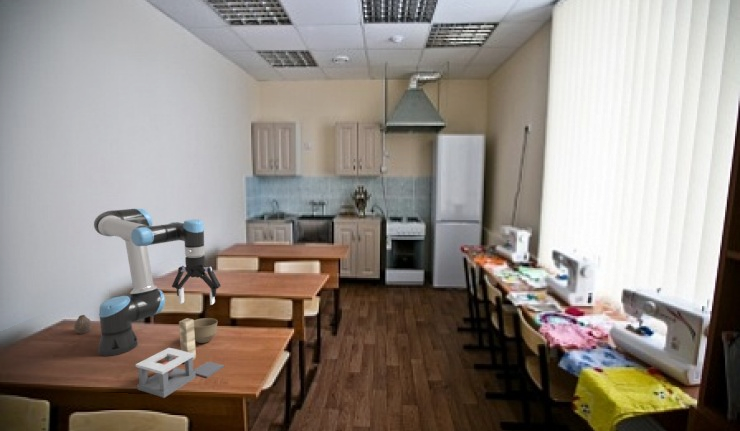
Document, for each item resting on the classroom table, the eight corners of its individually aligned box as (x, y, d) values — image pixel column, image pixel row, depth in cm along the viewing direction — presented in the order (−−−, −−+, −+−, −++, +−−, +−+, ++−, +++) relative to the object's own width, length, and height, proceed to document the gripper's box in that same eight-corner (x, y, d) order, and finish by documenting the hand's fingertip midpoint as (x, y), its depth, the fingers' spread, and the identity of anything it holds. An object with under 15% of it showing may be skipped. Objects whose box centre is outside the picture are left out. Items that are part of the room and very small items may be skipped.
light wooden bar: (181, 361, 153) (179, 321, 151) (189, 357, 157) (186, 318, 155) (188, 363, 152) (185, 323, 150) (196, 358, 156) (193, 319, 154)
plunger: (157, 378, 136) (156, 365, 135) (168, 372, 140) (167, 360, 139) (166, 381, 134) (165, 367, 133) (176, 375, 138) (175, 362, 137)
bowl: (224, 339, 174) (223, 319, 173) (199, 349, 164) (198, 329, 162) (208, 333, 181) (207, 314, 180) (184, 343, 170) (183, 323, 169)
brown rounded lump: (71, 334, 180) (69, 318, 179) (84, 328, 186) (82, 312, 185) (82, 335, 178) (81, 318, 178) (95, 329, 185) (93, 313, 184)
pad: (190, 373, 144) (190, 371, 144) (208, 362, 152) (207, 361, 152) (207, 377, 141) (207, 376, 141) (224, 366, 149) (224, 365, 149)
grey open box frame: (137, 389, 133) (135, 364, 132) (170, 370, 146) (169, 347, 145) (164, 397, 128) (162, 371, 127) (195, 377, 141) (194, 353, 140)
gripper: (161, 257, 148) (163, 305, 150) (219, 258, 147) (221, 307, 150) (171, 253, 155) (174, 299, 158) (227, 254, 155) (229, 300, 157)
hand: (197, 303), depth 154 cm, fingers open, 13 cm apart
